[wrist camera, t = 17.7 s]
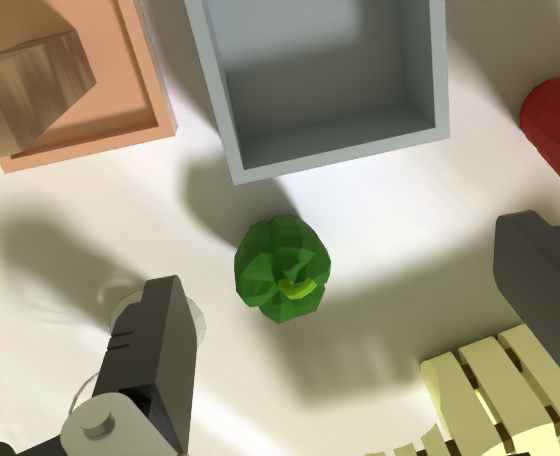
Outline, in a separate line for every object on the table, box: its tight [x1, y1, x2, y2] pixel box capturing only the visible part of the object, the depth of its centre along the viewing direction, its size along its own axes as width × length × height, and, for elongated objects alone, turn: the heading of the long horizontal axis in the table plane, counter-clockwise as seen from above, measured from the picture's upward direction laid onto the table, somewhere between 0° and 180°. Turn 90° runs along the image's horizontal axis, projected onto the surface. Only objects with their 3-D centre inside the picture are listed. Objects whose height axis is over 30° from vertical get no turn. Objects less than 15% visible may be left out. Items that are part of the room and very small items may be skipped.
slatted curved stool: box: [364, 324, 560, 456], centre depth 51 cm, size 30×16×18 cm, turn 113°
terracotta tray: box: [0, 0, 178, 174], centre depth 37 cm, size 14×14×2 cm
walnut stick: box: [0, 30, 97, 157], centre depth 31 cm, size 4×4×16 cm
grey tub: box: [184, 0, 450, 186], centre depth 36 cm, size 16×16×8 cm
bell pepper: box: [234, 216, 331, 324], centre depth 44 cm, size 8×8×10 cm
